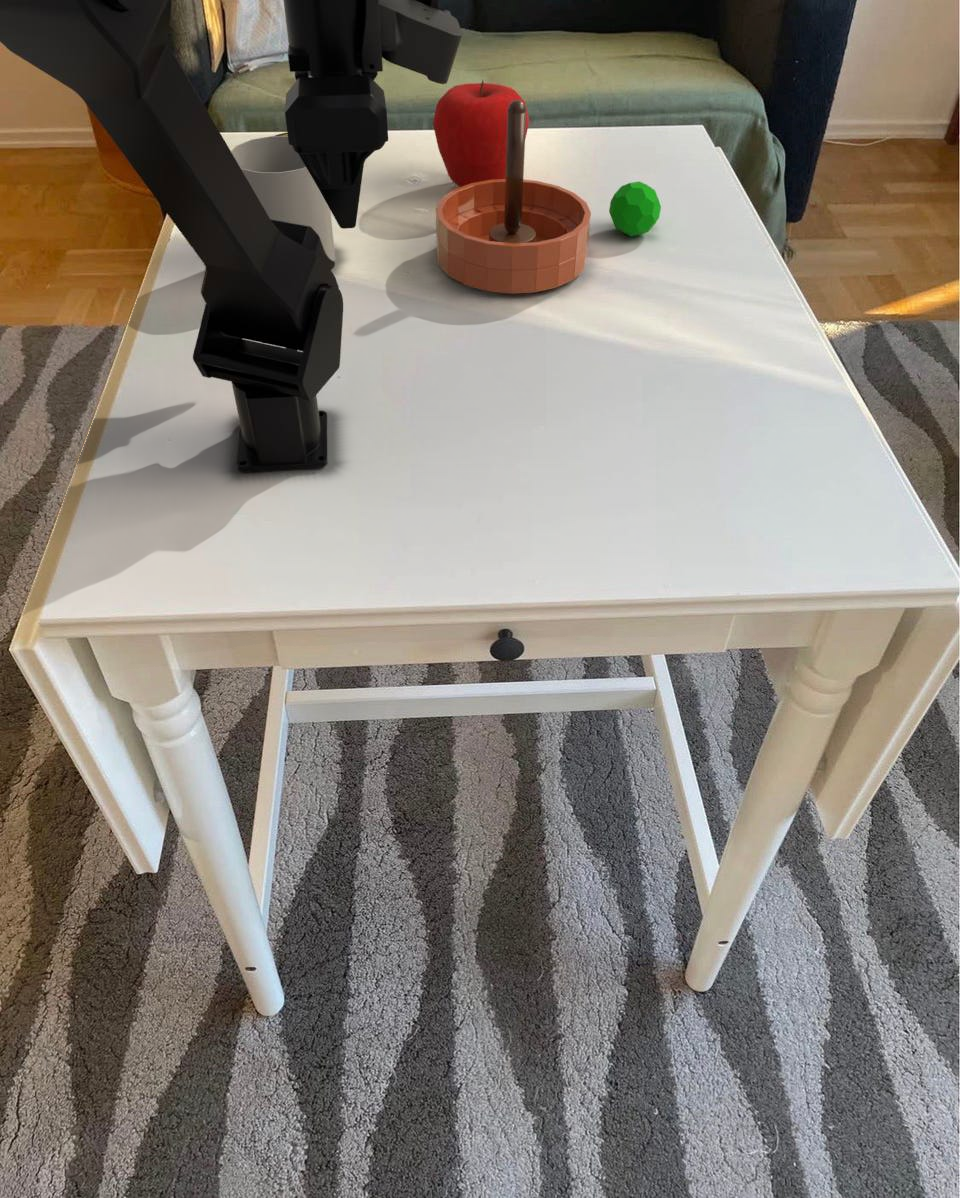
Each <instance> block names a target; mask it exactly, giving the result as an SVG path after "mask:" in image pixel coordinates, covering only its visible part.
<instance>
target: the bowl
mask: <svg viewBox="0 0 960 1198" xmlns="http://www.w3.org/2000/svg"><path fill="white" fill-rule="evenodd" d="M505 183H506V179H495V180H487V181H481V182H475V183H470V184H468V185H465V186H462V187H457V188H454V189H452V190H450V191H449V192H448V193H446V195H443V196H442V197H441V199H440V200H439V202H438V204H437V206H436V207H435V225H436V226H435V228H436V256H437V257H436V258H437V263H438V266H439V267H440V269H442V270H443V271H444V273H445V274H446V275H447V276H449V277H450V278H451V279H453V280H455V281H457V282H459V283H461V284H462V285H464V286H468V287H470V288H475V289H479V290H480V291H481V290H482V291H485V292H492V293H501V294H531V293H538V292H543V291H548V290H552V289H555V288H559V287H561V286H563V285H565V284H567V283H569V282H572V281H574V280H575V279H576V278H577V277H578V276H579V275H580V274H581V273H582V272H583V271H584V270H585V267H586V263H587V259H588V250H589V249H588V248H589V239H590V228H591V221H592V219H591V218H592V212H591V209H590V207H589V205H588V202H586V201H585V200H584V199H583V198H581V197H580V196H579V195H578V194H576V193H575V192H574V191H571V190H568V189H566V188H564V187H562V186H559V185H556V184H552V183H548V182H543V181H541V180H539V181H538V180H532V179H523V198H522V221H521V224H525V225H528V226H530V227H531V228H533V229H534V230H535V232H536V240H535V242H533V243H504V242H494V241H489V231H490V229H491V228H492V227H494V226H496V225H498V224H502V223H504V216H505Z"/></svg>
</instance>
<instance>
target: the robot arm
mask: <svg viewBox="0 0 960 1198" xmlns="http://www.w3.org/2000/svg"><path fill="white" fill-rule="evenodd" d="M282 1H283V7H284V17H285V25H286V32H287V41H288V47H287V59H288V67H289V72H290V73H294V78H295V82H294V83H293V84H292V85H291V87H290V88H289V89H288V90H287V92H286V93H285V104H284V107H285V108H284V118H285V124H286V133H287V134H288V141H289V144H290V145H292V147H293V149H294V151H295V152H297V153H298V154H299V156H300V158H301V160H302V161H303V163H304V165H305V166H306V168H307V170H308V171H309V173H310V175H311V176H312V178H313V180H314V182H315V183H316V185H317V187H318V188H319V190H320V192H321V194H322V196H323V198H324V199H325V201H326V203H327V205H328V207H329V208H330V212H331V215H332V216H333V217H334V219H335V221H336V223H337V225H338V226H339V228H340V229H342V230H343V229H354V228H355V227H356V226H357V219H358V212H359V204H360V197H361V189H362V181H363V175H364V174H363V173H364V166H365V163H366V161H367V159H368V158H369V157H370V156H371V155H372V154H373V153H375V152H376V151H379V150H381V149H382V148H383V147H384V146H385V145H386V143H387V142H389V129H388V128H389V126H388V110H387V104H386V103H387V102H386V96H385V95H386V94H385V90H384V89H383V88H382V87H381V86H380V85H379V84H378V83H377V82H376V81H375V79H376V78H377V76H378V74H379V73H378V72H383V71H384V70H383V60H385V61H386V62H389V63H390V64H393V65H396V66H399V67H400V68H404V69H407V70H409V71H412V72H414V73H417V74H421V75H423V76H426V78H427V79H428V81H430V82H433V83H436V84H438V85H439V84H441V85H446V84H447V83H448V82H449V78H450V75H451V72H452V68H453V66H454V63H455V59H456V56H457V53H458V50H459V47H460V43H461V40H462V37H463V32H462V29H461V26H460V23H459V21H458V19H457V18H456V17H455V16H453V15H452V14H451V13H452V12H451V11H449V10H447V9H444V10H440V3H439V0H282ZM172 4H173V0H0V43H1V44H2V45H3V46H4V47H5V48H6V49H7V50H8V51H9V52H11V53H13V54H14V55H15V56H17V57H19V58H21V59H22V60H24V61H25V62H27V63H29V64H30V65H32V66H34V67H35V68H37V69H39V71H41V72H44V73H45V74H46V75H48V76H50V77H51V78H53V79H54V80H56V81H57V82H59V83H61V84H63V85H64V86H66V87H67V88H69V89H70V90H72V91H73V92H75V93H76V94H77V95H78V96H79V97H80V98H81V99H82V100H83V102H84V104H86V106H87V107H88V109H89V110H90V111H91V113H92V114H93V115H94V116H95V118H96V120H97V121H98V122H99V124H100V125H101V126H102V127H103V129H104V130H105V131H106V133H107V134H108V136H109V137H110V138H111V140H112V141H113V143H114V144H115V146H116V147H117V148H118V149H119V150H120V152H121V154H122V155H123V156H124V158H125V159H126V160H127V161H128V163H129V164H130V166H131V167H132V168H133V170H134V171H135V172H136V174H137V175H138V176H139V178H140V179H141V181H142V182H143V183H144V185H145V186H146V188H147V189H148V190H149V192H151V194H152V195H153V196H154V198H155V199H156V201H157V202H158V204H159V205H160V206H161V208H162V209H163V210H164V211H165V213H166V214H167V216H168V217H169V218H170V220H171V221H172V222H173V224H174V225H175V227H176V228H177V229H178V231H179V232H180V233H181V235H182V236H183V237H184V239H185V240H186V242H187V243H188V244H189V246H190V247H191V248H192V250H193V251H194V252H195V253H196V255H197V256H198V258H199V259H200V260H201V262H202V263H203V265H204V267H205V269H204V272H203V273H204V274H203V278H202V284H201V288H200V294H201V296H202V299H203V301H204V303H205V304H204V309H203V313H202V317H201V321H200V326H199V329H198V333H197V338H196V341H195V342H196V343H195V346H194V350H193V353H192V360H193V362H194V365H195V366H196V367H197V369H198V371H199V373H200V375H201V376H202V377H204V378H208V379H211V378H212V379H217V380H221V381H227V382H231V386H232V391H233V396H234V400H235V406H236V410H237V415H238V422H239V433H238V444H237V453H236V454H237V455H236V463H235V464H236V467H237V470H238V471H239V472H241V473H248V472H263V471H265V472H266V471H279V470H294V469H295V470H296V469H309V468H311V469H312V468H324V467H325V466H327V465H328V464H329V441H328V438H329V437H328V434H329V433H328V431H329V430H328V429H329V428H328V427H329V425H328V413H327V411H325V410H320V409H319V404H318V398H317V395H318V394H319V392H320V391H321V390H322V389H323V388H324V387H325V385H326V384H327V383H328V382H329V381H330V380H331V378H332V377H333V376H334V375H335V373H336V372H337V371H338V370H339V369H340V367H341V353H342V335H343V321H344V298H343V294H342V292H341V289H340V287H339V284H338V280H337V278H336V275H335V274H334V273H333V269H334V268H335V267H336V262H334V261H332V260H331V259H329V257H328V256H327V255H326V253H325V251H324V248H323V245H322V242H321V239H320V237H319V235H318V234H317V233H316V232H315V231H314V229H313V228H312V227H310V226H305V225H299V224H294V223H288V222H283V221H277V220H272V219H270V218H269V216H268V214H267V213H266V211H265V209H264V207H263V206H262V204H261V202H260V201H259V199H258V197H257V195H256V194H255V192H254V190H253V188H252V187H251V185H250V183H249V182H248V180H247V178H246V176H245V175H244V173H243V171H242V170H241V168H240V166H239V164H238V163H237V161H236V159H235V158H234V156H233V154H232V152H231V151H232V150H231V149H230V147H229V145H228V143H227V141H225V139H224V137H223V135H222V133H221V131H220V130H219V128H218V127H217V125H216V123H215V121H214V119H213V118H212V116H211V115H210V113H209V111H208V109H207V108H206V106H205V104H204V103H203V101H202V99H201V98H200V96H199V94H198V92H197V91H196V89H195V87H194V86H193V84H192V82H191V80H190V79H189V77H188V75H187V73H186V71H185V70H184V68H183V67H182V65H181V63H180V62H179V60H178V58H177V55H175V52H174V51H173V49H172V47H171V45H170V42H169V35H170V34H169V32H170V24H171V13H172Z"/></svg>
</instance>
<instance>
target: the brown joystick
mask: <svg viewBox="0 0 960 1198" xmlns="http://www.w3.org/2000/svg"><path fill="white" fill-rule="evenodd" d="M526 107H527V105H526V106H525V104H524V103H523V102H522V101H520V100H514V101H512V102H511V103H510V104H509V107H508V118H507V150H506V183H505V216H504V223H502V224H498V225H496V226H494V227H492V228H491V229H490V231H489V241H494V242H504V243H533V242H535V240H536V232H535V230H534V229H533V228H531V227H530V226H528V225H525V224H521V221H522V198H523V180H524V173H525V172H524V171H525V151H526V139H525V130H526Z"/></svg>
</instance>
